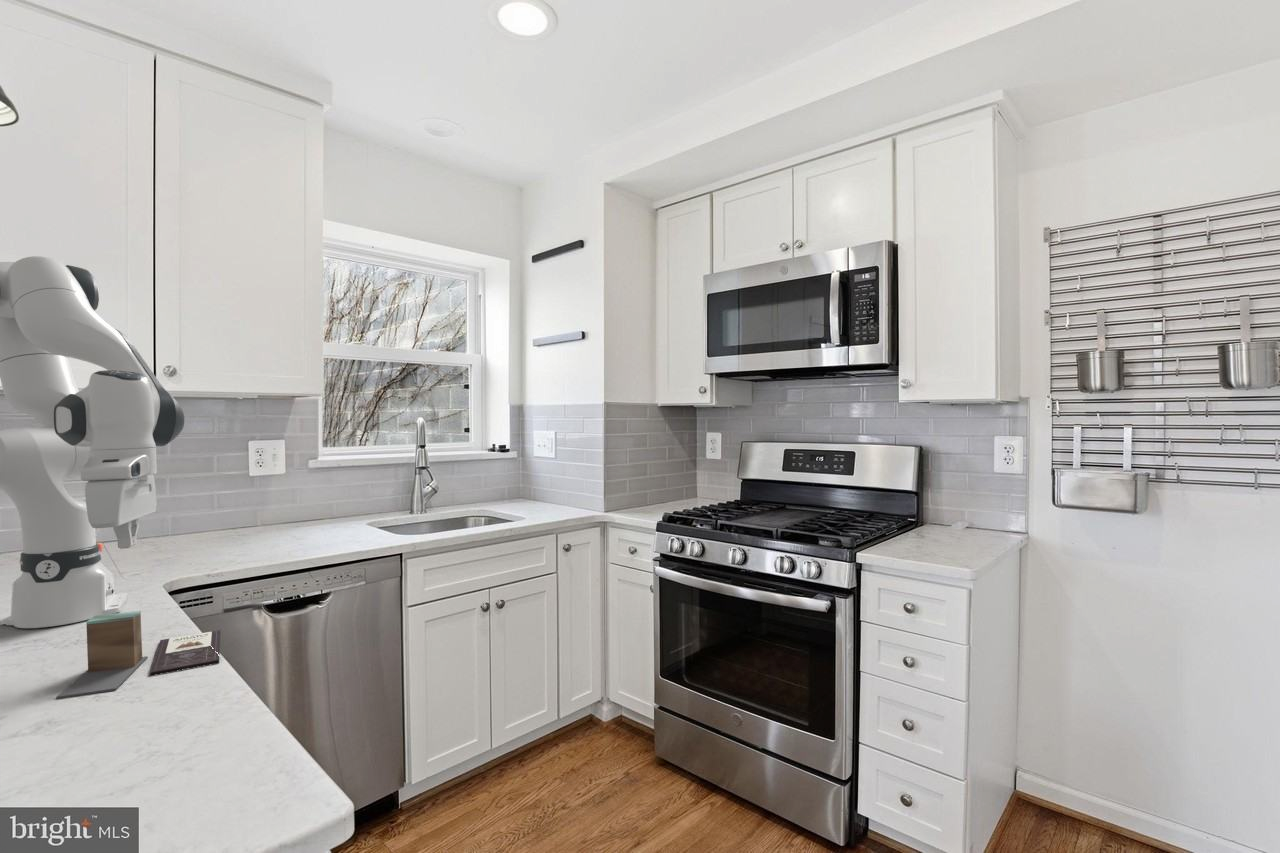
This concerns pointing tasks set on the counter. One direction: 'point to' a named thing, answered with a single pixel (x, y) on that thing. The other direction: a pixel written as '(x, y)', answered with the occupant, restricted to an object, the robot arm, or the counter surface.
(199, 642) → the chocolate bar
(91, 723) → the counter surface
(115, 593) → the robot arm
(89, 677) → the rubber mat
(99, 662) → the teal brown rectangular block
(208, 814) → the counter surface
